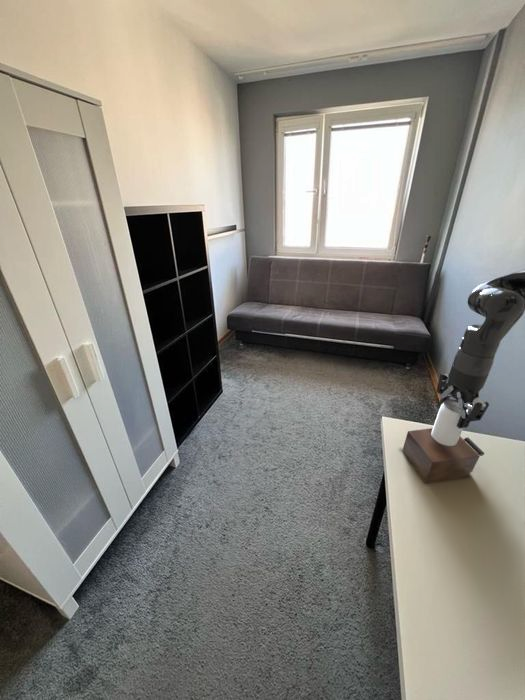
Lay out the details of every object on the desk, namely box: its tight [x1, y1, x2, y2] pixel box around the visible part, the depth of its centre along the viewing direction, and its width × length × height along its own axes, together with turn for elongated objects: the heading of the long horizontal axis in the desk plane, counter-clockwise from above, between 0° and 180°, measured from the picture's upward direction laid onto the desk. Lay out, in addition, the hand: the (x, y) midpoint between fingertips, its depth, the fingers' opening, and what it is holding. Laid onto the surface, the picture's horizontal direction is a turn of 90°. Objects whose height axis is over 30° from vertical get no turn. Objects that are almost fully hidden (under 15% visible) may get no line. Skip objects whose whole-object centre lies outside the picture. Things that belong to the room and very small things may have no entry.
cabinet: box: [401, 427, 480, 483], centre depth 83 cm, size 14×12×9 cm
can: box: [431, 398, 468, 446], centre depth 77 cm, size 6×6×12 cm
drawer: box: [460, 435, 485, 473], centre depth 83 cm, size 17×10×7 cm, turn 97°
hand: (451, 417), depth 76 cm, fingers closed on can, 6 cm apart
